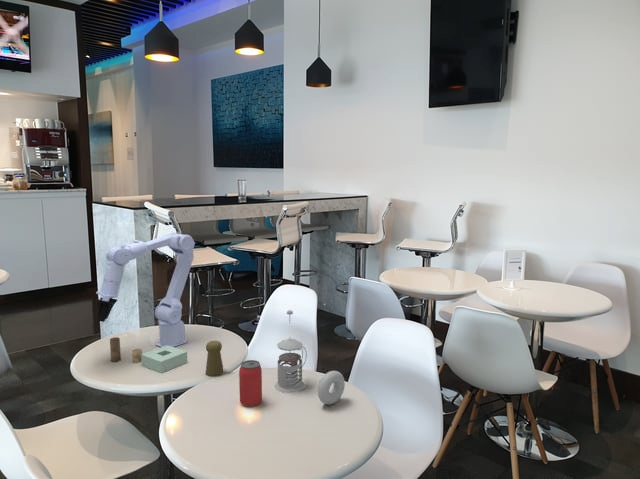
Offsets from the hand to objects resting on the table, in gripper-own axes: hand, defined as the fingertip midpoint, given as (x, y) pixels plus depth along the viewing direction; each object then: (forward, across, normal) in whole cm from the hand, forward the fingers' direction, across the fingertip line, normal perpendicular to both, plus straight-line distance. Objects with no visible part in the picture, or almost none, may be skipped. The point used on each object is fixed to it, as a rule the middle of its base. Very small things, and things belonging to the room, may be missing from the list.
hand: (102, 319), depth 162 cm
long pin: (+14, -6, +7) cm, 17 cm away
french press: (+6, +32, +62) cm, 70 cm away
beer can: (+11, +39, +49) cm, 63 cm away
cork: (+10, +15, +40) cm, 44 cm away
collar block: (+11, +2, +24) cm, 26 cm away
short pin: (+13, -3, +14) cm, 20 cm away
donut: (+7, +47, +71) cm, 85 cm away
